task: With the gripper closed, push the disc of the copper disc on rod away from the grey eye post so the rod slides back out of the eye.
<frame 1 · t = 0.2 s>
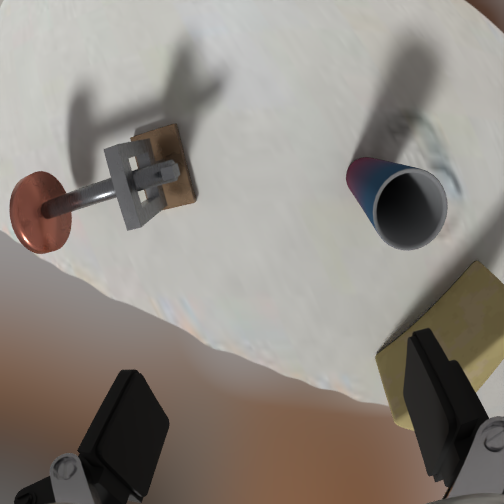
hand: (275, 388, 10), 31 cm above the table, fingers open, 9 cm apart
eye post: (164, 168, 38), on the table
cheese: (434, 316, 44), on the table
cup: (365, 177, 37), on the table
copper disc on rod: (92, 194, 32), point 8 cm above the table, slide at 0.0 cm
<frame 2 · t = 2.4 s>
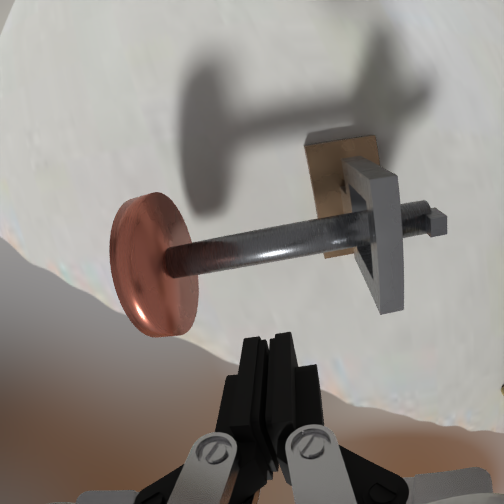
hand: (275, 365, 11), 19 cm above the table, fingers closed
eye post: (348, 196, 27), on the table
copper disc on rod: (281, 242, 21), point 8 cm above the table, slide at 0.0 cm
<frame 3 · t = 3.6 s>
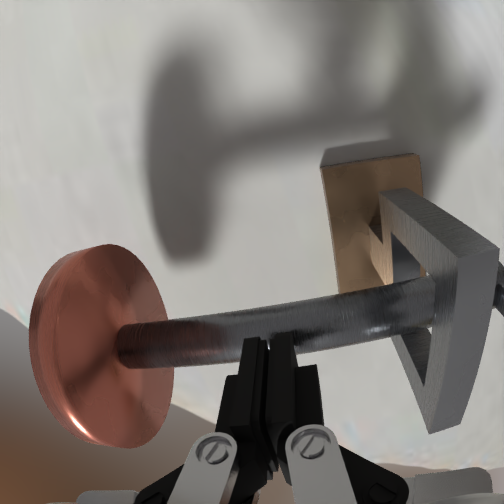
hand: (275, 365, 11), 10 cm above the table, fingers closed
eye post: (377, 237, 20), on the table
copper disc on rod: (288, 329, 13), point 8 cm above the table, slide at 0.0 cm
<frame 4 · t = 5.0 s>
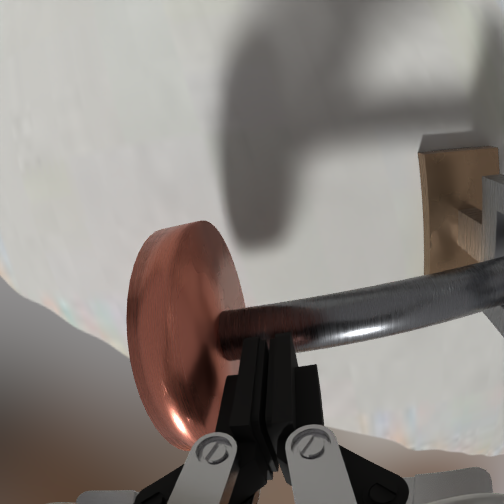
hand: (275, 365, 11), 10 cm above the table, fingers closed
eye post: (460, 221, 19), on the table
copper disc on rod: (402, 306, 12), point 8 cm above the table, slide at 1.5 cm, touching gripper
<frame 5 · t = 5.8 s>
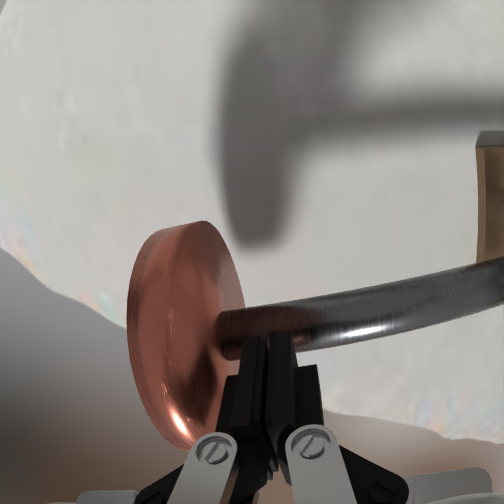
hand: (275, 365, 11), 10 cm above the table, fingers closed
copper disc on rod: (402, 306, 12), point 8 cm above the table, slide at 6.1 cm, touching gripper
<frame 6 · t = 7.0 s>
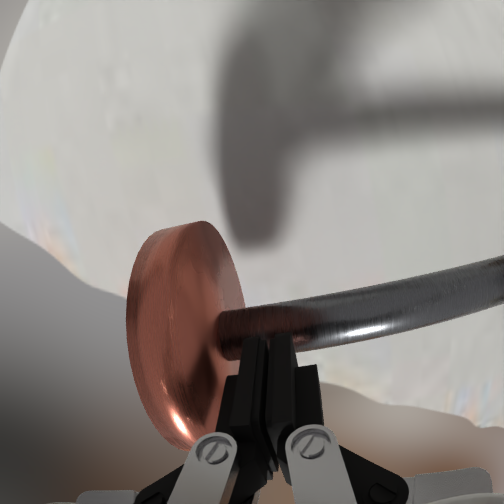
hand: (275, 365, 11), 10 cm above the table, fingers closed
copper disc on rod: (402, 305, 12), point 8 cm above the table, slide at 10.5 cm, touching gripper
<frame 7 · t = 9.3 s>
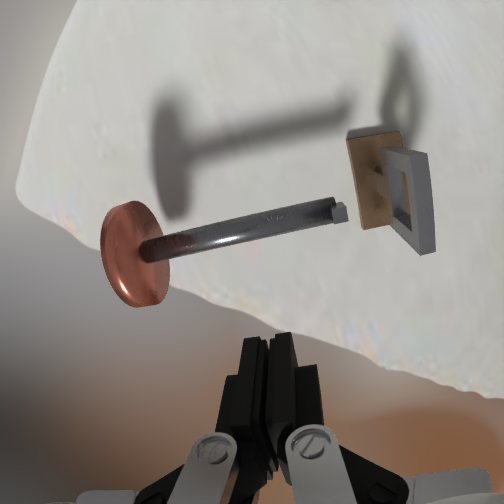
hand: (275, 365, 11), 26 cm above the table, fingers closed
eye post: (379, 179, 33), on the table
copper disc on rod: (222, 234, 28), point 8 cm above the table, slide at 10.6 cm
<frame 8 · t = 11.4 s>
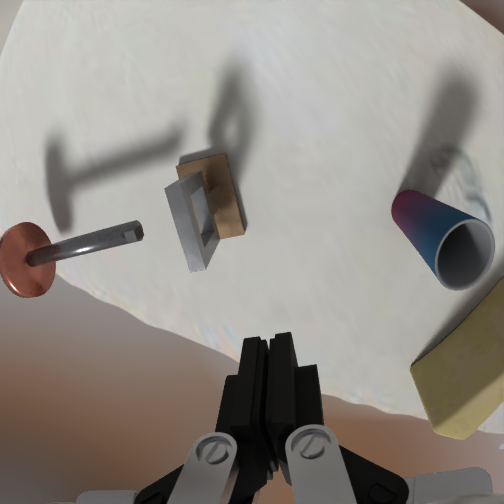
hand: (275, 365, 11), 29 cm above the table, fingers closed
eye post: (211, 198, 39), on the table
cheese: (464, 329, 44), on the table
cup: (408, 209, 38), on the table
copper disc on rod: (69, 248, 34), point 8 cm above the table, slide at 10.6 cm
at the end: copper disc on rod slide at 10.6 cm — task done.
